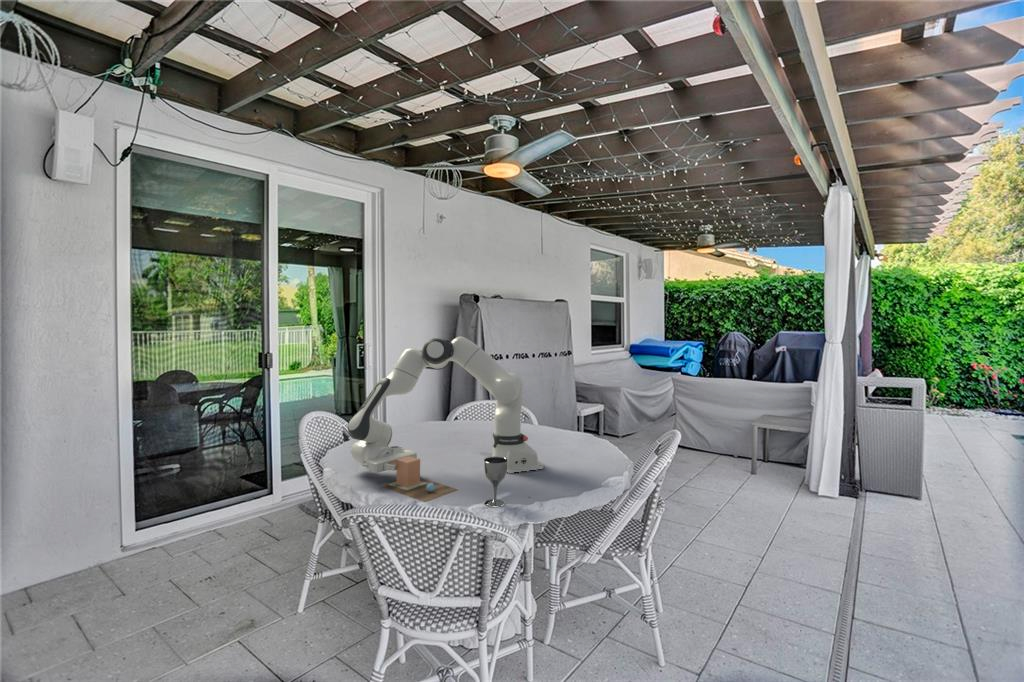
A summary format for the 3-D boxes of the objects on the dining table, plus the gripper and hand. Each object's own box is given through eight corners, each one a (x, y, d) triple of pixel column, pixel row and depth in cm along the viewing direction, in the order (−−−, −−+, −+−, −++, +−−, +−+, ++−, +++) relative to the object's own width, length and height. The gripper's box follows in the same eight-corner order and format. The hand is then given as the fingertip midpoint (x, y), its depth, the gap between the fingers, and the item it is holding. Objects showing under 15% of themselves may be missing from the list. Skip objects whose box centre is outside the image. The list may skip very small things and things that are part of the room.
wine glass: (507, 507, 171) (508, 463, 170) (483, 508, 170) (484, 463, 170) (506, 499, 179) (506, 456, 178) (483, 499, 178) (483, 456, 178)
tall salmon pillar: (409, 479, 194) (409, 456, 193) (419, 483, 190) (420, 459, 189) (396, 483, 189) (396, 459, 188) (407, 487, 185) (407, 462, 185)
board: (458, 492, 185) (458, 489, 185) (425, 504, 172) (425, 501, 172) (413, 478, 199) (413, 475, 199) (380, 488, 187) (380, 485, 187)
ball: (434, 489, 184) (434, 481, 184) (435, 492, 181) (435, 484, 181) (426, 490, 183) (426, 482, 183) (426, 493, 180) (426, 484, 180)
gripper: (359, 455, 190) (383, 463, 181) (402, 445, 206) (426, 451, 197) (359, 472, 190) (382, 480, 182) (402, 460, 206) (426, 467, 198)
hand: (405, 465), depth 190 cm, fingers open, 8 cm apart
